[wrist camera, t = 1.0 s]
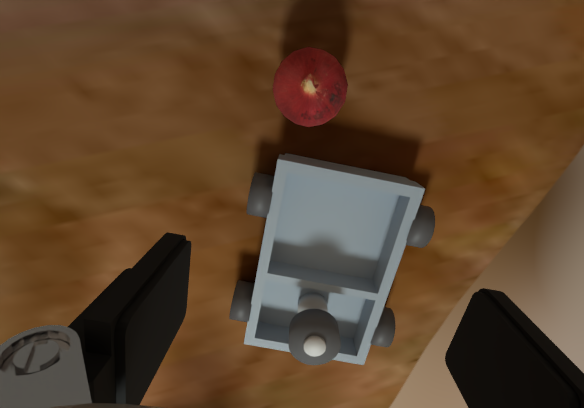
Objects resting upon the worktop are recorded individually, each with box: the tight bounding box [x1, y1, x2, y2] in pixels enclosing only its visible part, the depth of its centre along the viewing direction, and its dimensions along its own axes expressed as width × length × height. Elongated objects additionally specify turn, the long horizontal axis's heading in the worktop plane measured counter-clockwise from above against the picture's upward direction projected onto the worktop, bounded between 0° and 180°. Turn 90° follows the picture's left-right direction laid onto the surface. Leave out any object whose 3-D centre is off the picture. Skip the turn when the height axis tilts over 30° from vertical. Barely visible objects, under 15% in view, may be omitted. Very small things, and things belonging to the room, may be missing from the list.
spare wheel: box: [288, 309, 341, 365], centre depth 29 cm, size 5×5×2 cm
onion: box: [273, 47, 348, 127], centre depth 24 cm, size 6×6×8 cm
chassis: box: [230, 153, 435, 365], centre depth 32 cm, size 20×17×4 cm
